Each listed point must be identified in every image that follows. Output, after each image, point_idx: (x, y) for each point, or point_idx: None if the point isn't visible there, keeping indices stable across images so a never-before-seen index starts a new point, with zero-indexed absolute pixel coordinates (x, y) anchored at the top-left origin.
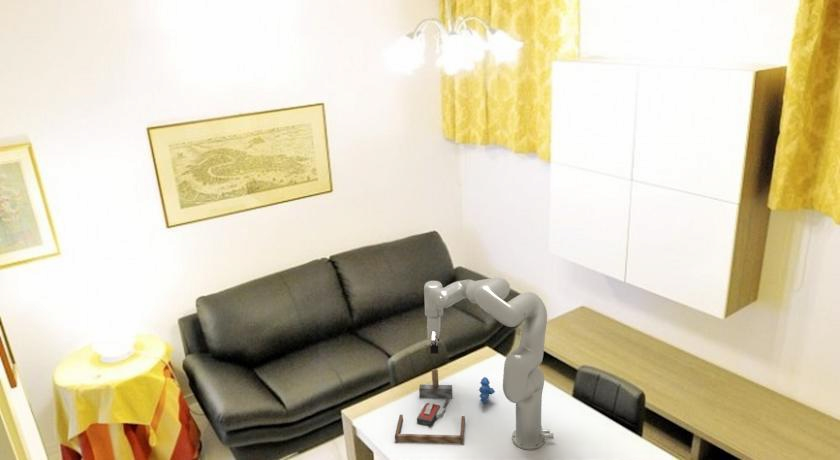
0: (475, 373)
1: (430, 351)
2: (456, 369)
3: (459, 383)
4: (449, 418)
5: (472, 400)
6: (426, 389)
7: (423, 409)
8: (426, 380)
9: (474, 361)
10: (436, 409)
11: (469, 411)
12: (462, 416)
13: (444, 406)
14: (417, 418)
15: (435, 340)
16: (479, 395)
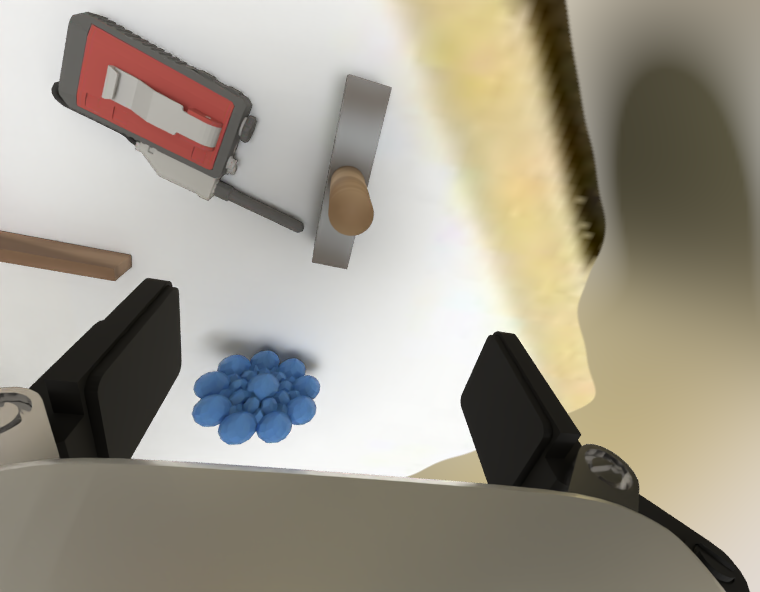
0: (469, 351)
1: (133, 291)
2: (525, 290)
3: (421, 287)
4: (159, 206)
5: (290, 316)
6: (339, 123)
7: (175, 73)
8: (495, 142)
9: (548, 358)
10: (178, 153)
11: (213, 295)
12: (111, 271)
13: (230, 199)
14: (81, 14)
15: (477, 374)
16: (213, 373)
